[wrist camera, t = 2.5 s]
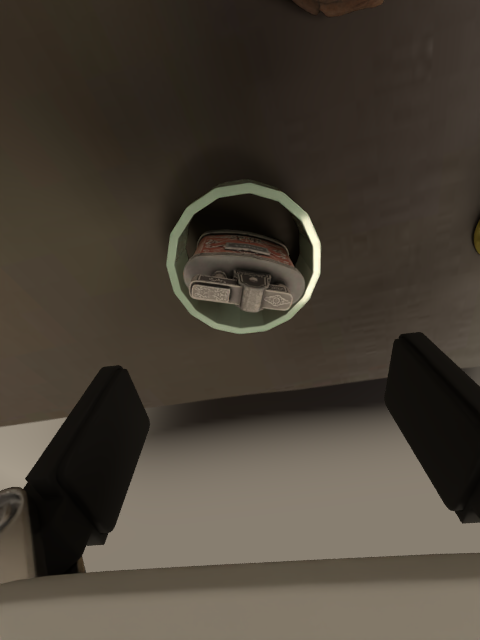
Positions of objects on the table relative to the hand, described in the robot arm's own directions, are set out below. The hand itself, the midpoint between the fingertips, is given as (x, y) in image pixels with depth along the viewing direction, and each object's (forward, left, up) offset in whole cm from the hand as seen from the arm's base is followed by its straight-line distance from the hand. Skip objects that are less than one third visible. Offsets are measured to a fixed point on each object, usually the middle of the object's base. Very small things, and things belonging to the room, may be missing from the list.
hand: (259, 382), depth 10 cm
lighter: (0, 0, -17) cm, 17 cm away
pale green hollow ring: (0, 0, -17) cm, 17 cm away
